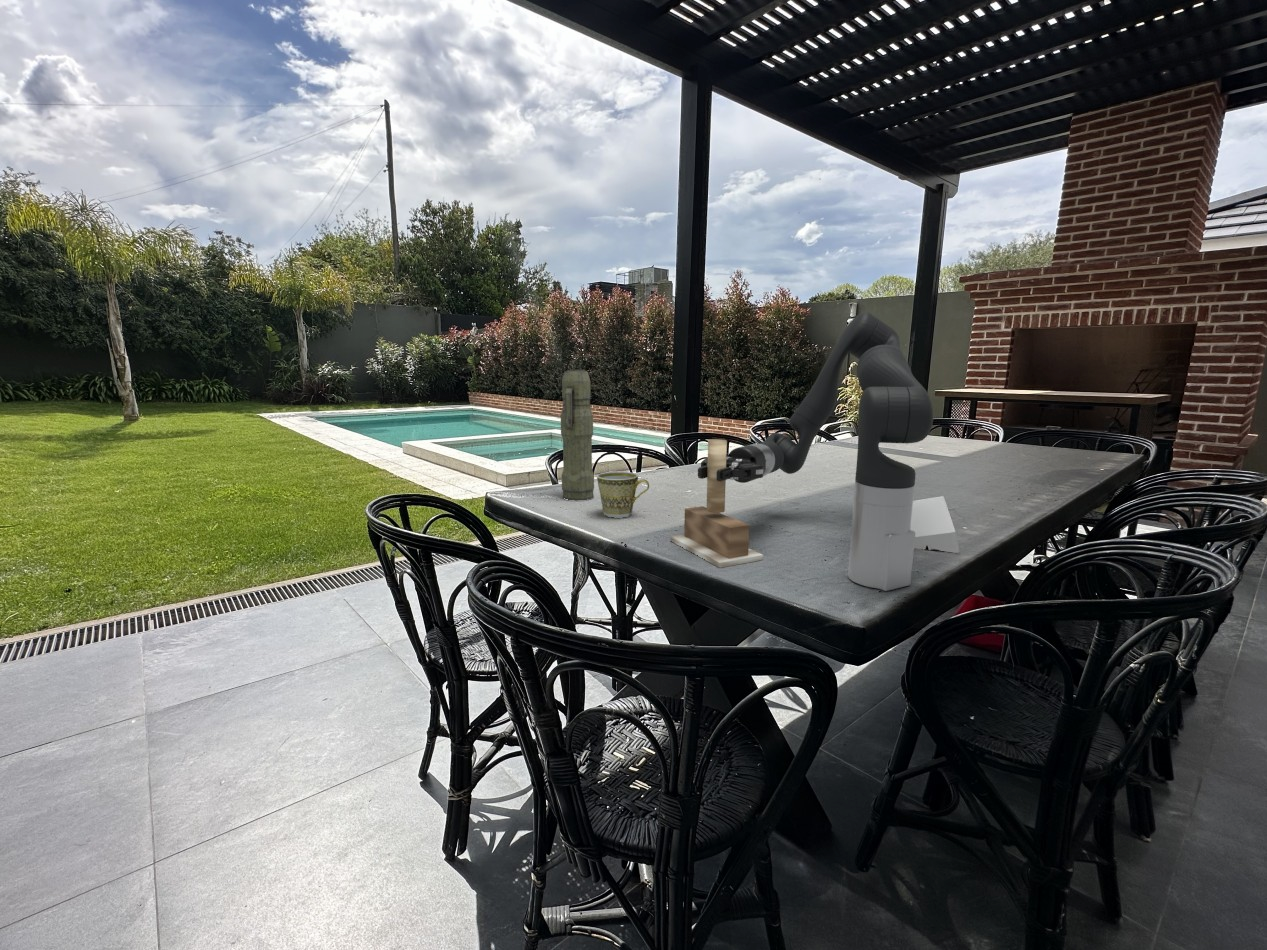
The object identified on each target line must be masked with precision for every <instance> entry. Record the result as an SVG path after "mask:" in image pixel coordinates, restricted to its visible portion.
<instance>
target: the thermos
mask: <svg viewBox="0 0 1267 950" xmlns="http://www.w3.org/2000/svg"><path fill="white" fill-rule="evenodd" d="M561 391H562V393H561V395H562V401H563V404H562V409H561V413H560V435H561V437H562V454H563V456H562V457H563V461H562V463H563V464H562V465H563V467H562V468H563V470H562V474H561V491H562V499H563V498H565V499H568V500H567V501H569V500H586V501H588V500H587V499H590V500H592V499H591V498H593V497H594V498H595V495H594V490H595V473H594V471H593V459H592V458H593V453H592V452H593V451H592V449H593V448H592V446H593V445H592V443H593V442H592V440H593V439H592V437H594V436H593V435H594V414H593V411H592V407H591V399H592V398H591V397H592V396H591V378H590V376H589V373H588V371H587V370H585V369H567V370H565V371H564V373H563V376H562V381H561ZM594 498H593V499H594Z"/></svg>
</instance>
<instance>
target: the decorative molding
mask: <svg viewBox="0 0 1267 950" xmlns="http://www.w3.org/2000/svg"><path fill="white" fill-rule="evenodd" d="M910 530H913V531H914V532H915V543H914V548H917V549H916V550H921V549H925V550H926V548H928V551H931V550H937V551H941V552H942V551H948V552H949V551H950V552H960V551H961V550H960V547H959V541H958V537H957V536H958V535H957V532H956V530H955V526H954V524H953V520H952V516H951V514H950V511H949V509H948V505H947V502H946V500H945V496H944V495H942V496H936V497H928V498H922V499H916V500H915V499H913V505H912V516H911V527H910ZM960 553H961V552H960Z"/></svg>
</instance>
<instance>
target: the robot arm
mask: <svg viewBox="0 0 1267 950" xmlns="http://www.w3.org/2000/svg"><path fill="white" fill-rule="evenodd" d="M848 354H851V355H852V356H854V357H855V358H856V359H858V362H857V364H856V376H857V380H858V384H859V387H860V388H861V390H862V393H861V396H860V399H859V404H858V418H857V419H858V421H857V423H858V425H857V427H858V428H857V430H858V431H857V433H858V435H857V456H856V465H855V466H856V468H855V479H854V490H853V492H854V494H853V503H852V504H853V505H852V514H851V515H852V516H851V530H850V531H851V532H850V543H849V555H848V557H849V559H848V570H847V573H848V574H847V577H848V579H849V580H851V582H853V583H856V584H858V585H861V586H864V587H868V588H873V589H878V590H881V591H884V592H887V591H891V590H895V589H896V590H897V589H899V588H903V587H907V586H911V580H912V570H913V561H914V551H915V549H914V543H915V532H914V531H913V530H910V527H911V516H912V505H913V501H914V496H915V495H914V493H915V484H916V475H917V473H916V470H915V469H914V468H913V467H912V466H911V465H908V464H906V463H903V462H900V461H898V460H896V459H893V458H891V457H889V456H887V455H886V454H885V453H883V452H882V451H881V450H880V447H879V445H880V444H881V443H882V444H916V443H919V442H921V441H923V440H925V439H926V438H927V437H928V435H930V432H931V430H932V428H933V423H934V409H933V408H934V407H933V404H932V400H931V398H930V395H929V393H928V391H927V390H926V389H925V387H924V386H923V384H922V383H920V382H919V381H918V380H917V379H916V377H915V376H914V375H913V373H912V370H911V368H910V366H909V362H908V360H907V359H906V357H905V355H904V354H903V351H902V350H901V343H900V337H899V335H898V333H897V331H895V329H893V328H892V327H890V326H889V325H888V324H887V323H885V322H883V321H882V320H881V319H879V318H878V317H877V316H875V315H873V314H872V313H871V312H868V311H863V312H861V313H859V314H857V315H856V316H855V317H854V318H853V319H852V320H851V321H850V322H849V324H847V326H846V328H845V329H844V330H843V332H842V333H841V335H840V336H839V338H838V340H837V341H836V343H835V345H834V346H833V349H832V351H830V354H829V356H828V358H827V359H826V361H825V363H824V365H823V367H822V369H821V370H820V372H819V374H818V376H817V378H816V380H815V381H814V383H813V384H812V387H811V388H810V390H809V391H808V392H807V394H806V395H805V396H804V398H803V400H802V401H801V403H800V404H799V406H798V407H797V408H796V410H795V411H794V413H793V414H792V415H791V417H790V418H789V421H788V423H789V424H788V425H790V427H791V428H792V429H793V431H795V432H796V433H797V435H798V442H797V443H796V442H795V441H794V440H792V439H791V438H790V437H788V436H786V435H785V434H782V433H780V432H772V433H771V434H769V435H768V436H767V437H766V439H765V440H764V441H763V442H761V443H753V444H747V445H743V446H740V447H736V448H733V449H732V450H731V451H730V452H729V453H728V454H727V455H726V468H723V469H719V470H717V481H720V482H721V481H724V480H726V481H728V480H729V481H730V480H731V481H735V482H737V483H739V484H740V483H741V484H745V483H749V482H752V481H754V480H757V479H761V478H763V477H765V476H767V475H768V474H772V473H774V472H776V471H778V470H781V471H782V472H784V473H785V474H788V475H793V474H795V473H797V472H798V471H800V470H801V469H802V467H803V466H804V464H805V462H806V459H807V458H808V457H807V456H808V454H809V451H810V448H811V446H812V444H813V442H814V439H815V438H816V436H817V435H818V432H819V431H820V430H821V428H822V427H823V425H825V423H826V422H827V420H828V419H829V418H830V416H831V415H832V413H833V411H834V410H835V406H836V404H837V400H838V393H839V391H838V388H839V383H840V382H839V379H840V375H841V369H842V366H843V364H844V361H845V359H846V357H847V356H848ZM707 467H708V457H706V458H704V459H703V460H702V461H701V462H700V467H698V468H697V477H698V479H701V480H702V479H707Z"/></svg>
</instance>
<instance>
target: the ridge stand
mask: <svg viewBox="0 0 1267 950" xmlns="http://www.w3.org/2000/svg"><path fill="white" fill-rule="evenodd" d="M706 508H707V506H706V507H705V506H695V507H694V506H693V507H686V508H684V520H683V521H684V523H683V524H684V527H683V529H684V530H683V531H684V532H683V534H678V535H673V536H672V535H671V536H670V542H671V541H672V543H673V542H674V543H673V544H675V545H677V546H679V547H680V546H681V547H680V548H682V547H683V548H682V549H684V550H686V549H687V550H686V551H687V552H690V553H691V552H692V554H693V553H694V554H693V555H696V556H697V555H698V556H697V557H699V558H701V559H702V558H703V559H702V560H704V559H705V560H704V561H706V562H708V563H710V564H712V565H714V566H715V567H717V568H726V567H732V566H737V565H742V564H747V563H753V562H758V561H763V560H764V554H763V553H760V552H758V551H755V550H753V549H751V548H749V544H750V543H749V542H750V524H748V523H745V522H743V521H741V520H738V519H736V518H734V517H730V516H728V515H726V514H724V513H712V512H708V511H706Z"/></svg>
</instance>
